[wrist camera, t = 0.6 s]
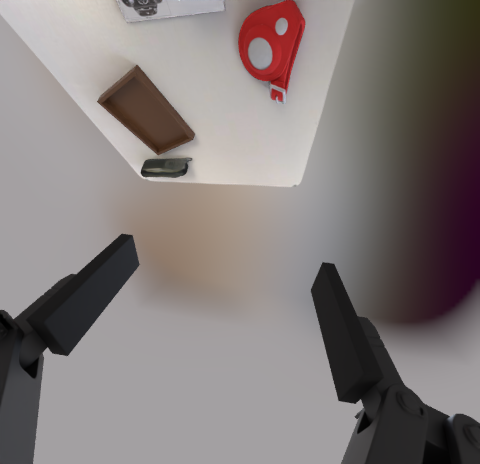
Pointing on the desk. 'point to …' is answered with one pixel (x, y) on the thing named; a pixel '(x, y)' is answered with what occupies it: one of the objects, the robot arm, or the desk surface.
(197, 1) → the car cutout
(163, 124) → the drinks tray
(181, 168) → the green zipper pouch
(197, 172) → the desk surface
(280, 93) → the red tape dispenser
